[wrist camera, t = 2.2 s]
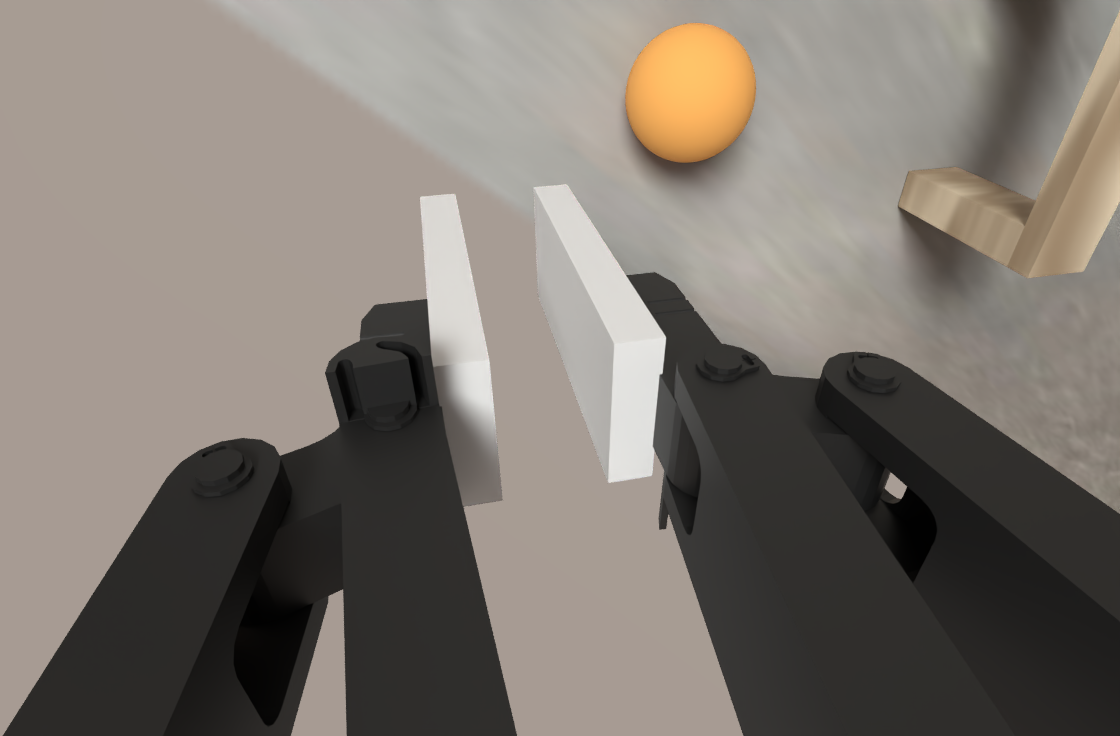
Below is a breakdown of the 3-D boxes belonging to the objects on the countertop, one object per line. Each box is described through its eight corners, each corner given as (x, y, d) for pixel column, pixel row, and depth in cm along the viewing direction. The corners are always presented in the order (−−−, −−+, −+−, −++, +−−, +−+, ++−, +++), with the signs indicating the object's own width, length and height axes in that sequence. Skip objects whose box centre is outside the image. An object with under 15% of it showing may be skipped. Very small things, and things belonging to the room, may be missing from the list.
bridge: (1056, -115, 28) (1292, -131, 20) (944, 201, 36) (1083, 271, 29) (997, -115, 27) (1218, -131, 20) (898, 206, 36) (1027, 278, 28)
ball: (731, 13, 28) (792, 29, 24) (715, 139, 31) (766, 174, 27) (612, 18, 27) (653, 35, 23) (608, 147, 30) (644, 184, 26)
